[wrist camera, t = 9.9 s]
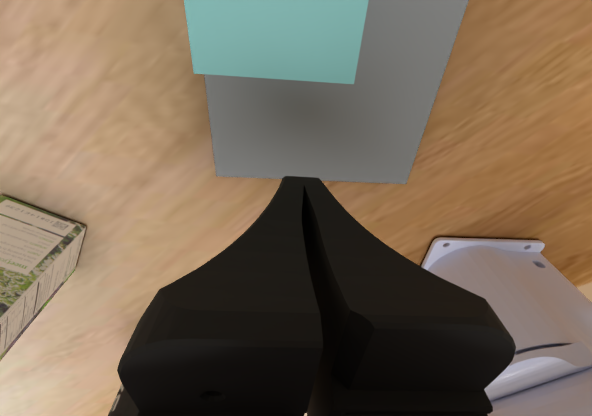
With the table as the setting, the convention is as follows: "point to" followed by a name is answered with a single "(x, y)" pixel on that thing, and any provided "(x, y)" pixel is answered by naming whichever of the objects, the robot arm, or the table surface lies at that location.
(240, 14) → the mint green cube
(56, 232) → the syrup box
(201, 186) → the table surface
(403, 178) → the mat
